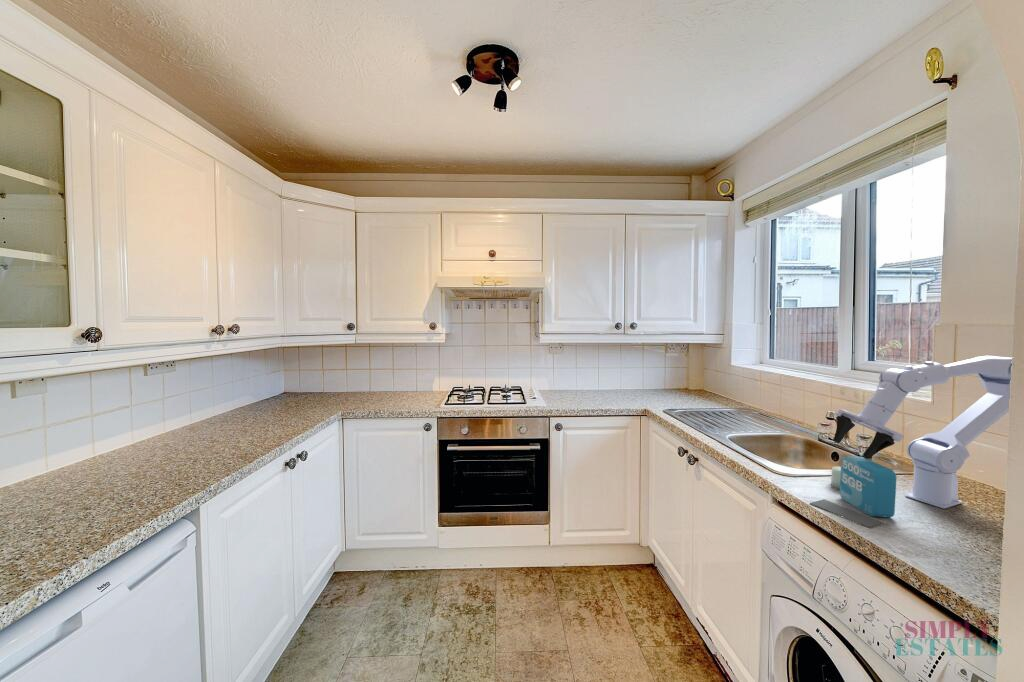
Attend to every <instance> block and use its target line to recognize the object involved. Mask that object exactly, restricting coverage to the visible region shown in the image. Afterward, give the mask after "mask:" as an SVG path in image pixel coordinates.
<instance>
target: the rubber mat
mask: <svg viewBox="0 0 1024 682" xmlns="http://www.w3.org/2000/svg"><path fill="white" fill-rule="evenodd" d="M809 505H811V506H813V507H816V508H819V509H820V510H821V509H822V510H823V511H825V512H828V511H829V512H828V513H831V512H832V513H831V514H833V513H834V514H833V515H836V514H837V515H836V516H838V515H840V516H843V517H845V518H847V519H846V520H848V519H849V520H848V521H850V520H851V521H850V522H853V521H854V522H853V523H855V522H857V523H856V524H858V525H860V524H861V525H860V526H863V525H864V526H863V527H865V526H866V528H868V529H872V528H873V527H874V526H875V527H877V526H881V525H884V524H885V521H883V520H880V519H876V518H875V517H873V516H870V515H868V514H867V515H866V514H864V513H861V512H858V511H856V510H853V509H851V508H848V507H846V506H843V505H840V504H837V503H835V502H832V501H829V500H828V499H824V498H823V499H820V500H816V501H812V502H809ZM840 516H839V517H840ZM843 517H842V518H843ZM845 518H844V519H845ZM871 527H872V528H871ZM875 527H874V528H875Z"/></svg>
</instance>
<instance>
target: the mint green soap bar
mask: <svg viewBox="0 0 1024 682" xmlns="http://www.w3.org/2000/svg"><path fill="white" fill-rule="evenodd" d="M840 475H841V466H832V467H831V478H830V479H831V482H830V483H831V486H832V485H833V486H832V487H833V488H835V489H838V488H839V490H840Z"/></svg>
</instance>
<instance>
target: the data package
mask: <svg viewBox="0 0 1024 682" xmlns="http://www.w3.org/2000/svg"><path fill="white" fill-rule="evenodd" d="M840 467H841V475H840V489H839V495H840V497H841V499H842V500H844V501H846V502H847V503H849V504H850V505H852V506H854V507H855V508H857V509H858V508H859V509H858V510H860V511H862V512H863V511H864V512H863V513H865V514H867V516H869V517H876V518H877V517H879V518H881V517H882V518H893V517H894V516H895V511H896V497H897V496H896V493H897V492H896V491H897V475H896V473H895V471H894V470H893V469H891V468H888V467H887V466H884V465H882V464H880V463H877V462H875V461H874V460H873V461H872V460H870V459H868V458H866V457H865V456H864V457H863V456H855V455H854V456H852V455H851V456H850V455H849V456H848V455H844V456H842V457H841V460H840Z"/></svg>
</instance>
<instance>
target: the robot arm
mask: <svg viewBox="0 0 1024 682" xmlns="http://www.w3.org/2000/svg"><path fill="white" fill-rule="evenodd" d="M1012 358H1013V357H1011V356H1010V357H1008V356H1007V357H1006V356H998V355H997V356H996V355H990V354H988V355H984V356H983V355H981V356H976V357H973V358H969V359H964V360H960V361H956V362H952V363H947V364H942V363H939V362H934V361H932V360H931V361H924V362H923V364H920V365H914V366H912V365H905V366H904V367H903V368H889V369H887V370H885V371H884V372H880V374H879V377H878V378H879V379H878V381H879V382H878V385H877V386H876V387H877V388H876V389H875V391H874V393H872V396H871V397H870V398H869V399H868V401H867V402H866V403H865V405H864V406H863V408H862V410H861V411H860V412H859V413H858V414H856V413H854V412H850V411H848V410H845V409H843V408H840V409H839V410H838V411H837V413H836V429H835V433H834V437H833V439H832V441H833V442H834V443H836V444H840V443H841V442H842V441H843V439H844V438H845V436H846V435H847V434H848V432H850V431H851V430H852V429H853V428H854V427H855V426H856V424H857V425H860V426H862V427H864V428H867V429H869V430H871V431H874V432H875V435H874V437H873V439H872V441H871V443H870V444H869V446H868V447H867V448H866V449H865V451H864V453H863V454H862V455H863V456H864V458H866V459H868V460H870V459H871V458H872V457H873V456H875V455H876V454H877V453H879V452H880V451H882V450H884V449H886V448H888V447H891V446H894V445H895V444H896V442H898V443H901V441H902V439H903V438H904V435H903V434H902V433H900V432H898V431H895V430H893V429H891V428H890V427H886V425H887V423H888V422H889V420H890V419H891V417H892V416H893V415H894V414H895V412H896V411H897V410H898V408H899V407H900V405H901V403H902V402H903V401H904V399H906V397H907V395H908V394H909V393H915V392H918V391H920V389H921V388H924V387H930V386H935V385H941V384H945V383H947V382H948V381H949V379H950V378H955V377H961V376H968V375H975V374H977V377H978V378H979V381H980V382H981V385H982V387H983V388H984V389H985V390H986V393H985V394H984V395H983V396H982V397H980V398H978V399H977V400H976V401H975V402H974V403H973V404H972V405H970V406H969V407H968V408H967V409H965V411H963V412H962V413H960V414H959V416H957V417H956V418H954V420H952V421H951V422H950V423H949V424H947V425H946V426H945V427H944V428H943V429H941V430H940V431H937V432H931V433H930V432H929V433H926V434H924V435H923V436H922V437H919V438H917V439H914V440H912V441H910V442H909V443H908V445H907V447H906V453H907V455H908V457H909V458H911V459H912V460H911V461H912V463H913V481H912V482H913V483H912V492H909V493H906V494H904V496H905V497H906V498H910V499H913V500H916V501H919V502H923V503H926V504H928V505H932V506H934V507H938V508H941V509H948V508H950V507H953V506H957V505H959V504H960V505H961V504H962V503H963V501H962V500H960V499H958V495H959V494H958V493H959V477H958V476H959V475H957V471H959V470H960V469H962V468H963V466H964V464H965V461H966V460H967V459H968V458H969V457H970V456H971V455H970V453H969V451H968V449H967V446H968V445H969V444H971V443H972V442H973V441H974V440H976V439H977V438H978V437H980V435H981V434H983V433H984V432H986V431H987V430H988V429H989V428H990V427H992V425H994V424H995V423H996V422H998V421H999V420H1000V419H1002V418H1003V417H1004V416H1005V415H1006V414H1007V413H1009V412H1010V411H1009V399H1010V380H1011V366H1012ZM854 423H855V424H854ZM863 456H862V457H863Z"/></svg>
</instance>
